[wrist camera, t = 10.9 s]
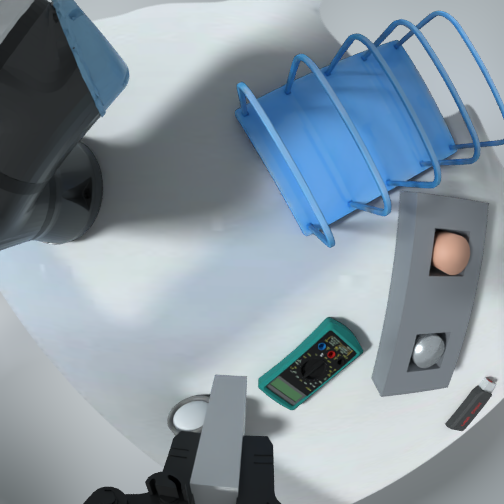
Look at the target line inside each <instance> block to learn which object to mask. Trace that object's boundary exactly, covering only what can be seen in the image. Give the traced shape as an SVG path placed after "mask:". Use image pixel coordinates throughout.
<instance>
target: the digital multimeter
mask: <svg viewBox="0 0 504 504" xmlns="http://www.w3.org/2000/svg"><path fill="white" fill-rule="evenodd" d="M308 349H309V350H308ZM362 353H363V349H362V347H361V346H360V344H359V342H358V341H357V339H356V337H355V336H354V334H353V333H352V332H351V331H350V330H349V329H348V328H347V327H346V326H345V325H343V324H341V323H340V322H338V321H336V320H334V319H332V318H330V317H328V318H326V319H325V320H324V321H323V322H322V323H321V324H320V325H319V326H318V327H317V328H316V329H315V330H314V332H313V333H312V334H310V335H309V336H308V337H307V338H306V339H305V340H304V341H303V342H302V343H301V344H300V345H299V346H298V347H297V348H296V349H295V350H294V351H292V352H291V353H290V354H289V355H288V356H287V357H285V358H284V359H283V360H282V361H281V362H280V363H278V364H277V365H276V366H274V367H273V368H272V369H271V370H269V371H268V372H267V373H265V374H264V375H263V376H261V377H260V378H259V379H258V387H259V389H261V390H262V391H263V392H264V393H265V394H266V395H268V396H269V397H270V398H271V399H273V400H274V401H276V402H277V403H279V404H281V405H282V406H284V407H286V408H288V409H290V410H294V409H296V408H297V407H298V406H299V405H301V404H302V403H303V402H304V401H305V400H306V399H308V398H309V397H310V396H311V395H312V394H313V393H315V392H316V391H317V390H318V389H319V388H321V387H322V386H323V385H324V384H325V383H327V382H328V381H329V380H330V379H331V378H333V377H334V376H335V375H336V374H338V373H339V372H340V371H341V370H342V369H344V368H345V367H346V366H347V365H349V364H350V363H351V362H352V361H353V360H355V359H356V358H357V357H358V356H360V355H361V354H362ZM299 357H300V358H299ZM317 379H318V380H317ZM309 380H310V381H309Z"/></svg>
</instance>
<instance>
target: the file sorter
mask: <svg viewBox="0 0 504 504" xmlns="http://www.w3.org/2000/svg"><path fill="white" fill-rule="evenodd" d="M438 15H439V16H443V17H445V18H446V19H448V20H449V21H451V23H452V24H453V25H454V26H455V28H456V29H457V30H458V32H459V34H460V35H461V37H462V38H463V40H464V42H465V43H466V45H467V47H468V48H469V50H470V51H471V53H472V55H473V57H474V58H475V60H476V62H477V64H478V65H479V67H480V69H481V71H482V73H483V75H484V77H485V78H486V81H487V83H488V85H489V87H490V89H491V91H492V93H493V95H494V97H495V99H496V102H497V104H498V106H499V109H500V111H501V113H502V116H503V118H504V105H503V102H502V100H501V98H500V95H499V93H498V91H497V89H496V87H495V85H494V83H493V81H492V79H491V77H490V75H489V73H488V72H487V69H486V67H485V65H484V63H483V62H482V60H481V58H480V57H479V55H478V53H477V51H476V50H475V48H474V46H473V45H472V43H471V41H470V40H469V38H468V36H467V35H466V33H465V32H464V31H463V29H462V27H461V26H460V24H459V23H458V22H457V21H456V20H455V19H454V17H452V16H451V15H449V14H448V13H446V12H443V11H435V12H432V13H431V14H429V15H428V16H427V17H426V18H424V19H423V20H422V21H421V22H420V23H419V24H418V25H416V26H415V25H413V24H412V23H411V22H409V21H407V20H403V19H400V20H396V21H394V22H392V23H391V24H390V25H389V26H388V28H387V29H386V30H385V31H384V32H383V33H382V34H381V35H380V37H379V38H378V39H377V40H376V41H375V42H374V43H372V42H371V41H370V40H369V39H367V38H366V37H365V36H363V35H361V34H352V35H350V36H349V37H348V38H347V39H346V41H345V42H344V43H343V45H342V46H341V48H340V49H339V51H338V53H337V54H336V56H335V57H334V59H333V60H332V62H331V64H330V65H328V66H326V67H323V68H321V69H319V68H318V67H317V65H316V64H315V63H314V62H313V61H312V60H311V59H310V58H309V57H308V56H306V55H304V54H298V55H296V56H295V57H294V59H293V62H292V65H291V69H290V72H289V76H288V80H287V84H286V85H284V86H282V87H280V88H277V89H275V90H273V91H271V92H270V93H268V94H266V95H264V96H262V97H260V98H258V99H256V97H255V96H254V94H253V93H252V91H251V90H250V89H249V87H248V86H247V85H246V84H245V83H243V82H241V83H238V84H237V91H238V96H239V100H240V105H241V108H239V109H237V110H236V111H235V116H236V118H237V119H238V121H239V123H240V124H241V126H242V127H243V129H244V131H245V132H246V134H247V136H248V137H249V139H250V141H251V142H252V144H253V146H254V147H255V149H256V151H257V152H258V154H259V156H260V157H261V159H262V161H263V163H264V164H265V166H266V168H267V169H268V171H269V173H270V175H271V176H272V178H273V180H274V182H275V183H276V185H277V187H278V189H279V190H280V192H281V194H282V196H283V197H284V199H285V201H286V203H287V205H288V206H289V208H290V210H291V212H292V214H293V216H294V217H295V219H296V221H297V223H298V225H299V227H300V229H301V231H302V233H303V234H304V235H305V236H310V235H311V234H314V235H316V236H317V237H318V238H319V239H320V240H321V241H322V242H323V243H324V244H325V245H326V246H328V247H329V248H331V247H333V246H334V245H335V240H334V237H333V234H332V232H331V230H330V227H329V224H331V223H333V222H335V221H336V220H338V219H340V218H342V217H344V216H345V215H347V214H349V213H351V212H353V211H354V210H356V209H360V210H363V211H367V212H370V213H374V214H377V215H381V216H386V215H388V214H390V212H391V200H390V197H389V194H388V191H390V190H392V189H393V188H395V187H397V186H404V187H417V188H434V187H436V186H438V185H439V184H440V181H441V168H440V165H464V164H472V163H474V162H476V161H477V160H478V159H479V156H480V147H487V146H498V145H503V144H504V139H503V140H497V141H487V142H479V139H478V136H477V134H476V131H475V129H474V126H473V124H472V122H471V120H470V117H469V115H468V113H467V111H466V109H465V107H464V105H463V103H462V101H461V99H460V97H459V95H458V93H457V91H456V89H455V87H454V85H453V83H452V81H451V80H450V78H449V76H448V75H447V73H446V71H445V69H444V68H443V66H442V64H441V62H440V61H439V59H438V57H437V56H436V54H435V52H434V51H433V49H432V48H431V46H430V45H429V43H428V42H427V40H426V39H425V37H424V36H423V35H422V33H421V32H420V31H419V29H421V28H422V27H423V26H424V25H425V24H427V23H428V22H429V21H430V20H432V19H433V18H434V17H436V16H438ZM398 25H404V26H406V27H408V28H409V29H410V30H411V31H410V32H409V33H407V35H405V36H404V37H403V38H402V39H401V40H400V41H398V40H395V41H392V42H389V43H385V44H382V45H380V44H381V42H382V41H384V39H386V37H387V36H388V35H389V34H390V33H391V32H392V31H393V30H394V29H395V28H396V27H397V26H398ZM413 34H415V35H416V36H417V38H418V39H419V41H420V42H421V43H422V45H423V47H424V48H425V50H426V51H427V53H428V55H429V56H430V58H431V59H432V61H433V62H434V64H435V66H436V67H437V69H438V71H439V73H440V74H441V76H442V78H443V79H444V81H445V83H446V85H447V87H448V89H449V90H450V92H451V94H452V96H453V98H454V100H455V102H456V104H457V106H458V108H459V111H460V113H461V115H462V117H463V119H464V121H465V123H466V126H467V128H468V130H469V132H470V135H471V137H472V140H473V143H468V144H459V145H455V143H454V140H453V138H452V136H451V134H450V131H449V129H448V127H447V125H446V123H445V120H444V118H443V116H442V115H441V113H440V111H439V108H438V107H437V104H436V103H435V101H434V99H433V97H432V95H431V93H430V91H429V89H428V88H427V86H426V84H425V82H424V80H423V79H422V77H421V75H420V74H419V72H418V70H417V69H416V67H415V65H414V64H413V62H412V60H411V59H410V58H409V56H408V54H407V53H406V51H405V50H404V48H403V47H402V44H403V43H404V42H405V41H406V40H408V39H409V38H410V37H411V36H412V35H413ZM355 39H356V40H359V41H361V42H362V43H363V44H364V45H366V46H367V48H368V50H366V51H363V52H361V53H358V54H355V55H353V56H350V57H348V58H345V59H342V60H340V59H341V57H342V56H343V54H344V53H345V52H346V51H347V49H348V48H349V46H350V45H351V44H352V43H353V41H354V40H355ZM379 45H380V46H379ZM339 60H340V61H339ZM300 61H303V62H304V63H305V64H306V65H307V66H308V67H309V68H310V69H311V71H312V73H309V74H307V75H305V76H303V77H301V78H299V79H296V80H294V79H295V75H296V72H297V69H298V66H299V64H300ZM245 95H246V97H247V98H248V100H249V101H250V103H248V104H246V97H245ZM463 148H474V155H473V157H472V158H469V159H453V160H444V159H445V158H447V157H449V156H450V155H452V154H454V153H456V152H457V149H463ZM432 166H433V169H434V175H435V179H434V181H433V182H417V181H407V180H409V179H411V178H413V177H414V176H416V175H418V174H419V173H421V172H423V171H425V170H426V169H428V168H430V167H432ZM379 196H382V198H383V202H384V209H382V208H377V207H374V206H369V205H365V204H367V203H368V202H370V201H372V200H374V199H376V198H377V197H379ZM320 229H322V230H323V232H324V234H325V235H324V234H323V233H321V232H320V231H319V230H320Z"/></svg>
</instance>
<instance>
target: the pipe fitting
mask: <svg viewBox="0 0 504 504" xmlns="http://www.w3.org/2000/svg"><path fill="white" fill-rule="evenodd" d="M209 398H210V397H208V396H204V395H196V396H192V397H189V398H187V399H184V400H182V401H181V402H179V403H178V404H176V405H175V406H174V407H173V408H172V409H171V411H170V413H169V415H168V420H167V422H168V427H169V428H170V430H171V431H172V432H173V433H174V435H175V436H176V435H177V434H178V433H179V432H180V431H189V432H198V433H202V428H203V424H204V420H205V415H206V411H207V407H208V403H209Z"/></svg>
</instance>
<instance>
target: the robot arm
mask: <svg viewBox="0 0 504 504" xmlns="http://www.w3.org/2000/svg"><path fill="white" fill-rule="evenodd" d="M128 81H129V69H128V67H127V65H126V64H125V62H124V61H123V59H122V58H121V57H120V56H119V54H118V53H117V52H116V50H115V49H114V48H113V47H112V45H111V44H110V43H109V42H108V41H107V39H106V38H105V37H104V36H103V34H102V33H101V32H100V31H99V30H98V28H97V27H96V26H95V25H94V24H93V22H92V21H91V20H90V19H89V18H88V17H87V16H86V15H85V13H84V12H83V11H82V10H81V9H80V8H79V6H78V5H77V4H76V2H75V1H74V0H52V2H48V1H47V0H0V250H3V249H6V248H9V247H12V246H15V245H18V244H21V243H24V242H27V241H30V240H35V241H41V242H44V243H47V244H54V245H56V244H63V243H67V242H70V241H72V240H75V239H77V238H79V237H80V236H82V235H83V234H84V233H85V232H86V231H87V230H88V229H89V228H90V227H91V225H92V224H93V222H94V220H95V219H96V216H97V214H98V212H99V208H100V205H101V200H102V191H103V186H102V176H101V171H100V168H99V165H98V162H97V160H96V158H95V156H94V155H93V153H92V152H91V151H90V149H89V148H88V147H87V146H85V145H84V144H83V143H81V142H79V141H80V140H81V139H82V137H83V136H84V135H85V134H86V133H87V132H88V130H89V129H90V128H91V127H92V126H93V125H94V123H95V122H96V121H97V120H98V119H99V118H100V117H103V116H104V115H105V113H106V109H107V108H108V107H109V106H110V105H111V103H112V102H113V101H114V100H115V99H116V98H117V96H118V95H119V94H120V93H121V92H122V91H123V90H124V89H125V87H126V86H127V84H128ZM246 390H247V376H229V375H215V377H214V381H213V386H212V390H211V394H210V398H209V403H208V407H207V411H206V415H205V420H204V424H203V428H202V433H198V432H189V431H180V432H179V433H178V434H177V435H176V436H175V437H174V438H173V441H172V445H171V449H170V451H169V454H168V457H167V460H166V463H165V466H164V469H163V472H158V473H155V474H153V475H151V476H150V477H148V479H147V480H146V482H145V483H146V486H147V489H148V491H149V492H148V493H143V494H124V493H123V492H122V491H120V490H119V489H117V488H114V487H102V488H99V489H97V490H96V491H95V492H93V493H92V495H91V496H90V497H89V498H88V499H87V500H86V501H85V502H84V504H281V503H280V502H279V501H278V500H277V498H276V497H275V493H274V465H273V463H274V461H273V444H272V443H271V441H270V440H269V438H268V436H244V434H245V420H246Z"/></svg>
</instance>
